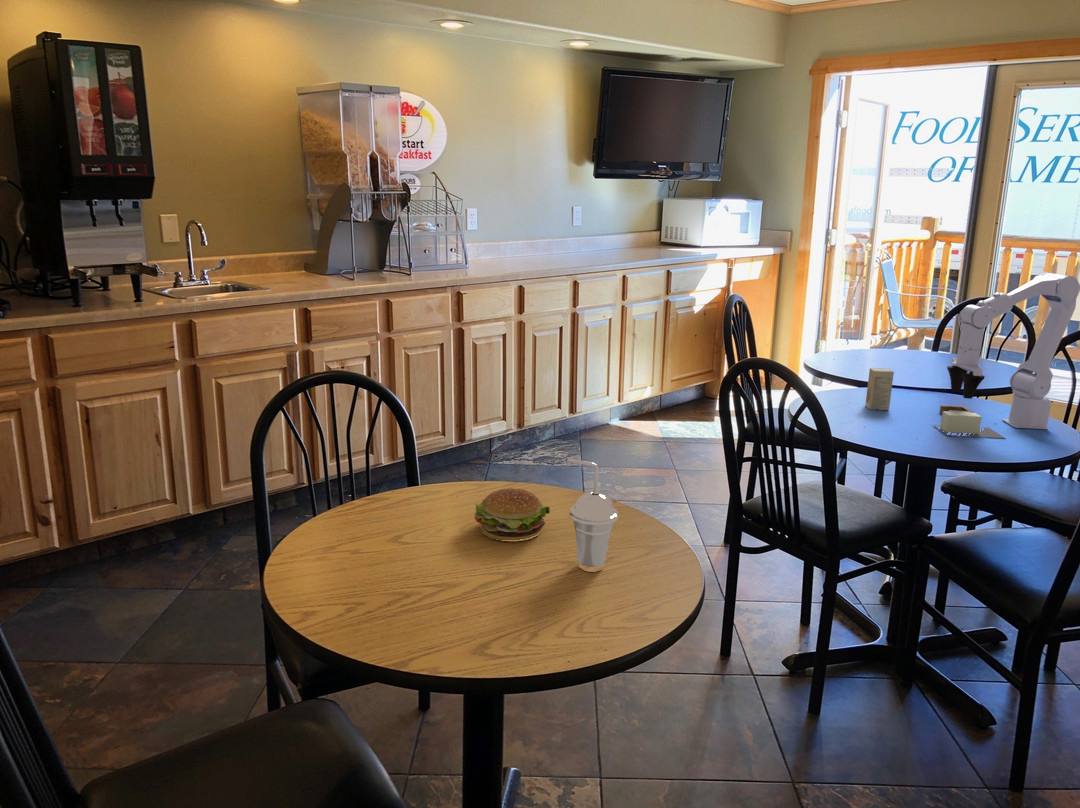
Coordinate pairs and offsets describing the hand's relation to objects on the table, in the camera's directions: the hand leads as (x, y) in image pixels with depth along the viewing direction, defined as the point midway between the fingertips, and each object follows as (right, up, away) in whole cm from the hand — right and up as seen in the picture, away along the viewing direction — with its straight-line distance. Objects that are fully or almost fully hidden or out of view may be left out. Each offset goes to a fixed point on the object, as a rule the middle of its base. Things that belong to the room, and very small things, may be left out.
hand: (961, 394), depth 239 cm
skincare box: (-17, -4, +19) cm, 25 cm away
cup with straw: (-112, -31, -92) cm, 148 cm away
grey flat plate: (0, -11, -3) cm, 11 cm away
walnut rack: (+4, -6, +12) cm, 14 cm away
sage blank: (-2, -10, -3) cm, 11 cm away
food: (-126, -27, -79) cm, 151 cm away
